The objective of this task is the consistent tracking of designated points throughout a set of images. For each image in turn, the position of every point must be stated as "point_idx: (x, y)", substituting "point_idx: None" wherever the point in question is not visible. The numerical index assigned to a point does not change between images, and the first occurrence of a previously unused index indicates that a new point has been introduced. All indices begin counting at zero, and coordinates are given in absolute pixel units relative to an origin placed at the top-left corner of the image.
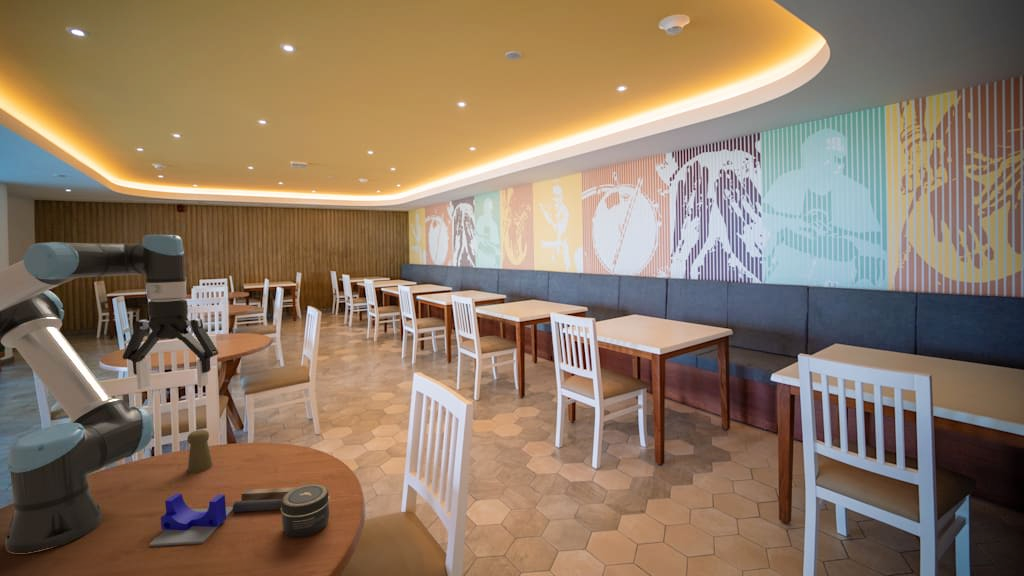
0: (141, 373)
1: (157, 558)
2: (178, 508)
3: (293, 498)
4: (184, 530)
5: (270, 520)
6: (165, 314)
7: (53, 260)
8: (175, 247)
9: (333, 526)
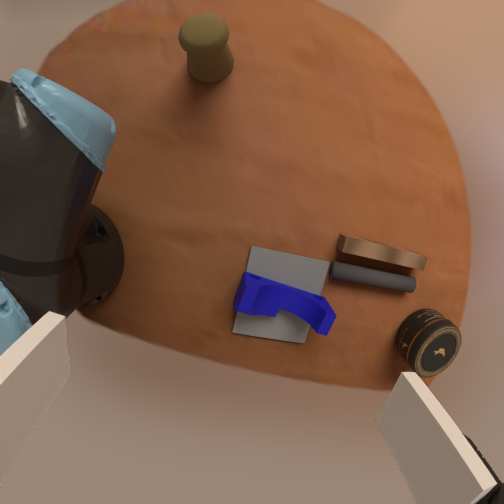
0: (27, 425)
1: (255, 357)
2: (256, 300)
3: (426, 360)
4: None
5: (380, 309)
6: None
7: None
8: None
9: None
